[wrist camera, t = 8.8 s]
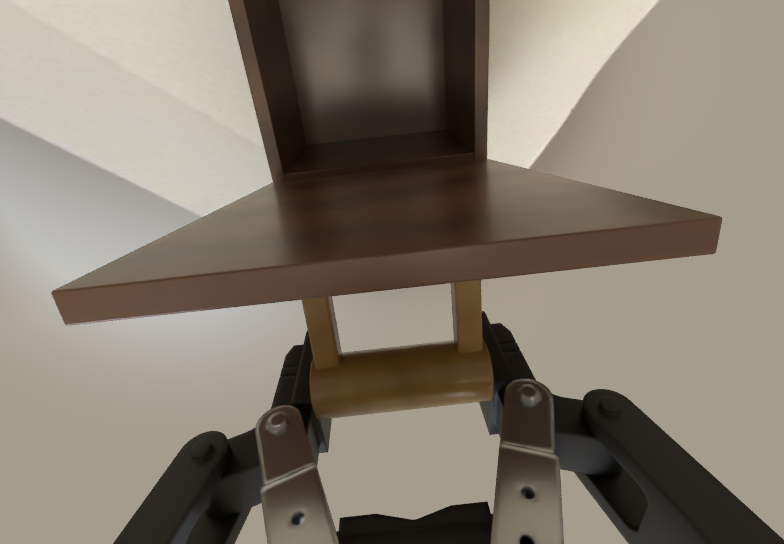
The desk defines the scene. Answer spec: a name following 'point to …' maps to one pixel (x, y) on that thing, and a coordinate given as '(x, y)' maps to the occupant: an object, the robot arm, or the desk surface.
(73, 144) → the desk surface
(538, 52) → the desk surface
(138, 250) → the lid
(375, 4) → the chest
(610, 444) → the robot arm
